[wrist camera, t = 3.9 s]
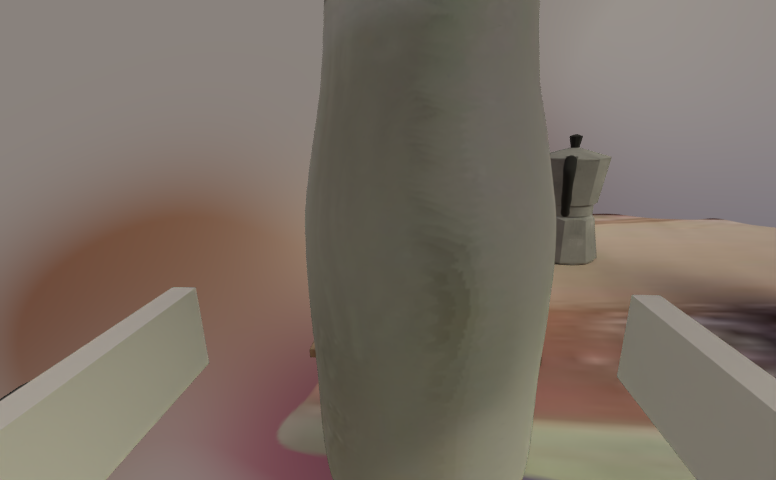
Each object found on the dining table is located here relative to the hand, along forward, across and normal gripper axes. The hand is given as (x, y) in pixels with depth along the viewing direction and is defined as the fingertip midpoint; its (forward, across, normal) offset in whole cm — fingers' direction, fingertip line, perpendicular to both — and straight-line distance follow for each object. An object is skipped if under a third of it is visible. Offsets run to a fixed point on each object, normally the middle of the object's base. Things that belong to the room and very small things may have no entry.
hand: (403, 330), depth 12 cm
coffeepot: (+46, +22, -14) cm, 53 cm away
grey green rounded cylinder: (+6, +1, -14) cm, 15 cm away
